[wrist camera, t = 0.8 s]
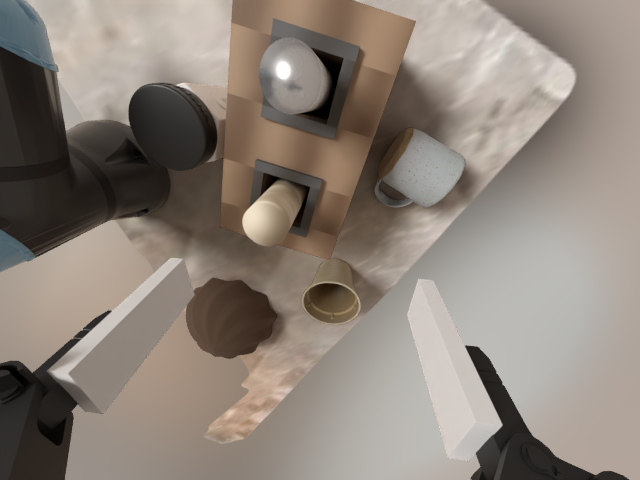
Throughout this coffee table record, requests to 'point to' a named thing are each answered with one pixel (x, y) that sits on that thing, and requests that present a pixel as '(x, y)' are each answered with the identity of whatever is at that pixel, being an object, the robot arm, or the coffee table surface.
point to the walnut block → (308, 127)
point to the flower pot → (332, 294)
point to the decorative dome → (229, 318)
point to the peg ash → (274, 212)
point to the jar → (180, 123)
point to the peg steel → (294, 77)
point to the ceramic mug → (418, 169)
